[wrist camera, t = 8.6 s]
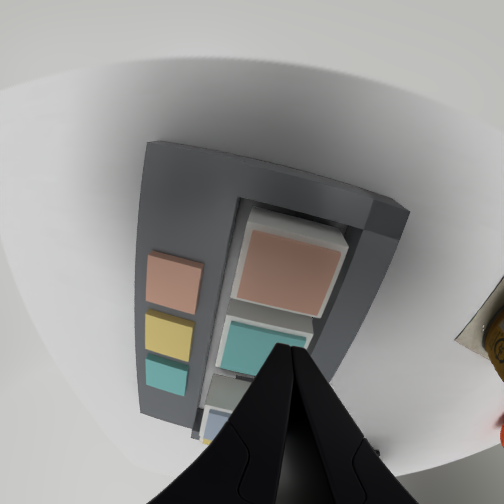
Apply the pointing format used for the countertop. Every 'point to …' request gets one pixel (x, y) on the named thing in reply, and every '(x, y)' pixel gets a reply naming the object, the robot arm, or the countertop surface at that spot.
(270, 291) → the block
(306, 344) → the key teal
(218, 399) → the key slate
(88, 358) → the countertop surface
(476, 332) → the condiment
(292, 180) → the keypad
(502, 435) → the clementine
